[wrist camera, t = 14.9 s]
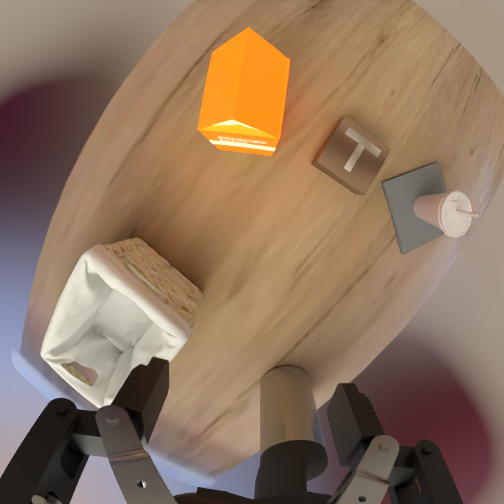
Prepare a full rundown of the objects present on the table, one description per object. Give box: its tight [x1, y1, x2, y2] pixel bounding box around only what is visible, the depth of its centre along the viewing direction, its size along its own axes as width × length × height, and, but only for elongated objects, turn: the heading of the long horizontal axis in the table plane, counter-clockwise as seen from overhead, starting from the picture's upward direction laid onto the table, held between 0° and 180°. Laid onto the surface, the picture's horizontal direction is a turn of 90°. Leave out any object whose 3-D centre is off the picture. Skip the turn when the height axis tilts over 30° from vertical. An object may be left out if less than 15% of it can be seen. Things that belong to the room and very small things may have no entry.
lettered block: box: [311, 115, 391, 195], centre depth 35 cm, size 8×8×4 cm
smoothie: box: [413, 190, 478, 237], centre depth 31 cm, size 6×6×14 cm
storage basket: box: [41, 237, 203, 409], centre depth 37 cm, size 24×16×15 cm
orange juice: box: [198, 27, 290, 156], centre depth 27 cm, size 8×9×20 cm
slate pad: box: [381, 162, 446, 254], centre depth 38 cm, size 12×12×1 cm
